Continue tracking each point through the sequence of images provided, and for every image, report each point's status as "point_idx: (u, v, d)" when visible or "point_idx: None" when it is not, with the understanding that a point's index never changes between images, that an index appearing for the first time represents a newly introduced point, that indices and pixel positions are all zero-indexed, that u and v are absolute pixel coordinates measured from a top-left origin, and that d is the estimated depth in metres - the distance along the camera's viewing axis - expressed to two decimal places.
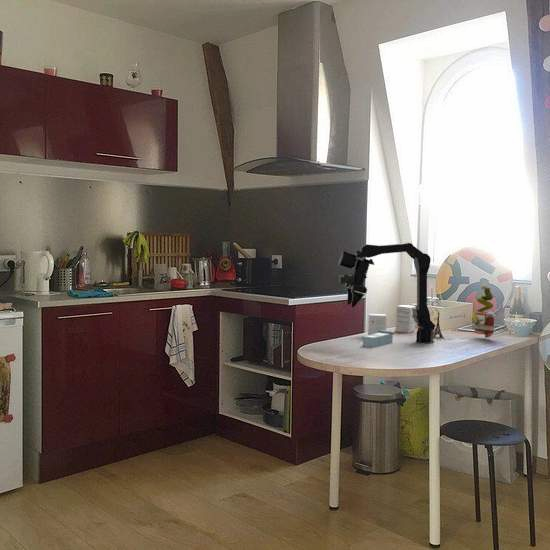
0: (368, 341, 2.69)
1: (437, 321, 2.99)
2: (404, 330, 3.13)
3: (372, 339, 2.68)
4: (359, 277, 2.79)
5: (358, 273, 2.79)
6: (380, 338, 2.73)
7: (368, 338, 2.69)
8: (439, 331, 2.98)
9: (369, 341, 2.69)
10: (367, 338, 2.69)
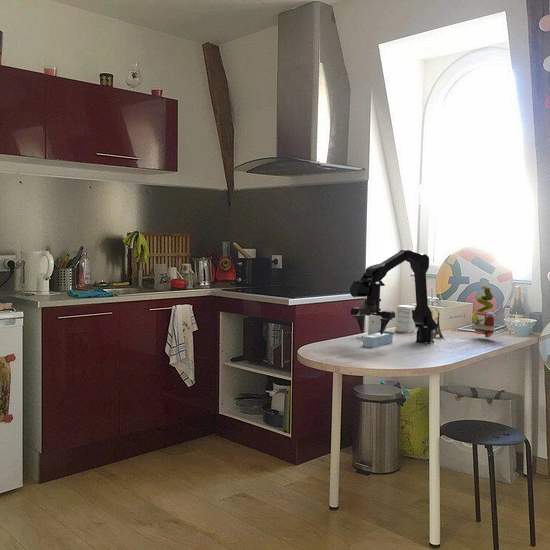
0: (368, 341, 2.69)
1: (437, 321, 2.99)
2: (404, 330, 3.13)
3: (372, 339, 2.68)
4: (378, 303, 2.68)
5: (377, 299, 2.67)
6: (380, 338, 2.73)
7: (368, 338, 2.69)
8: (439, 331, 2.98)
9: (369, 341, 2.69)
10: (367, 338, 2.69)
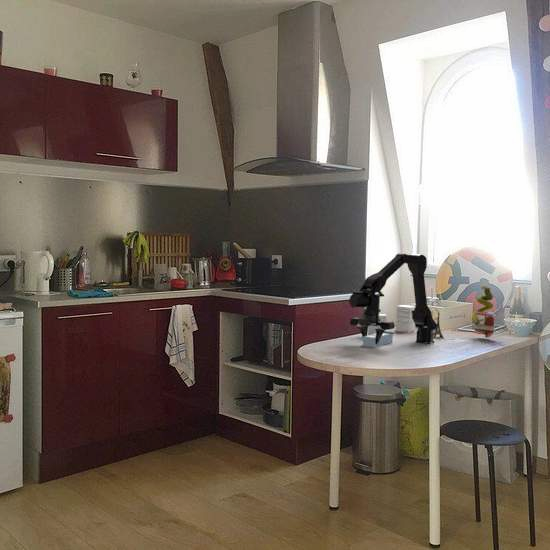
0: (368, 341, 2.69)
1: (437, 321, 2.99)
2: (404, 330, 3.13)
3: (372, 339, 2.68)
4: (377, 313, 2.68)
5: (376, 309, 2.68)
6: (380, 338, 2.73)
7: (368, 338, 2.69)
8: (439, 331, 2.98)
9: (369, 341, 2.69)
10: (367, 338, 2.69)
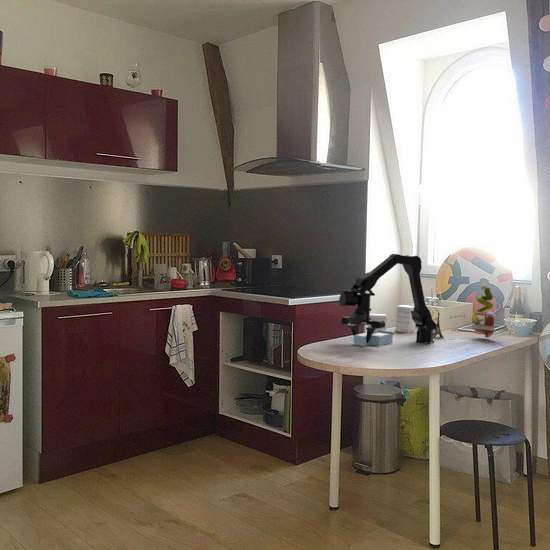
0: (359, 340, 2.71)
1: (437, 321, 2.99)
2: (404, 330, 3.13)
3: (363, 338, 2.70)
4: (368, 312, 2.71)
5: (367, 308, 2.70)
6: (380, 338, 2.73)
7: (359, 337, 2.71)
8: (439, 331, 2.98)
9: (360, 340, 2.71)
10: (358, 337, 2.72)
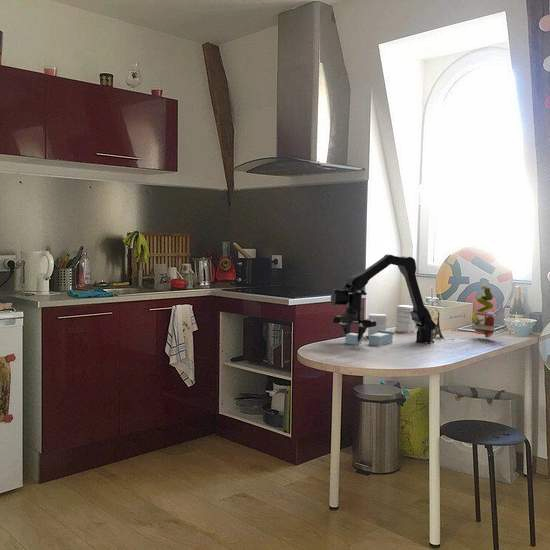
0: (350, 338, 2.74)
1: (437, 321, 2.99)
2: (404, 330, 3.13)
3: (354, 336, 2.73)
4: (359, 311, 2.73)
5: (358, 307, 2.73)
6: (380, 338, 2.73)
7: (350, 336, 2.74)
8: (439, 331, 2.98)
9: (351, 338, 2.74)
10: (349, 336, 2.74)
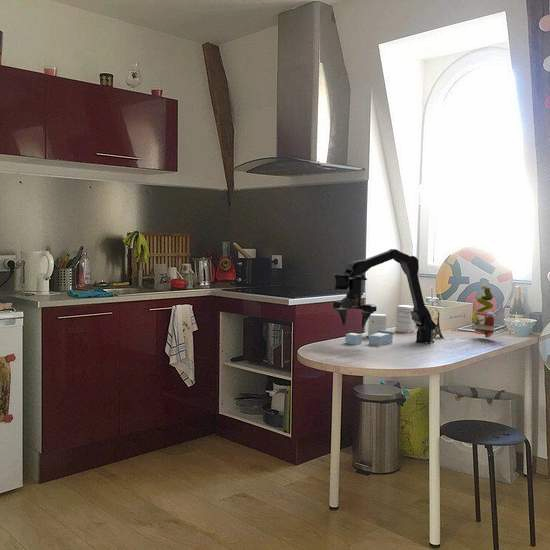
0: (350, 338, 2.74)
1: (437, 321, 2.98)
2: (404, 330, 3.13)
3: (354, 337, 2.73)
4: (360, 296, 2.73)
5: (358, 293, 2.72)
6: (380, 338, 2.73)
7: (350, 336, 2.74)
8: (439, 331, 2.98)
9: (351, 338, 2.74)
10: (349, 336, 2.74)
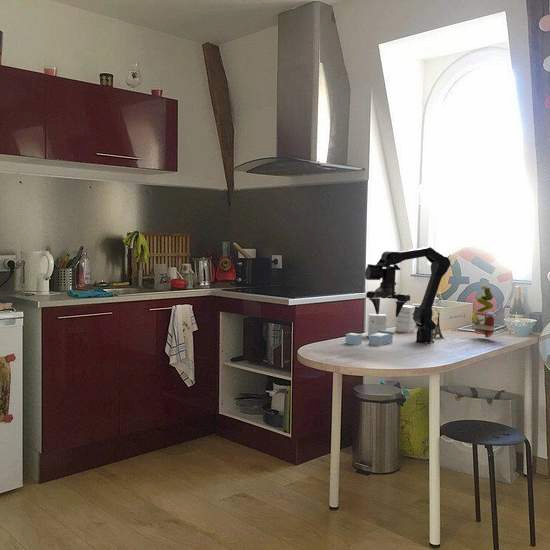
0: (350, 338, 2.74)
1: (437, 321, 2.98)
2: (404, 330, 3.13)
3: (354, 337, 2.73)
4: (393, 286, 2.77)
5: (392, 282, 2.76)
6: (380, 338, 2.73)
7: (350, 336, 2.74)
8: (439, 331, 2.98)
9: (351, 338, 2.74)
10: (349, 336, 2.74)
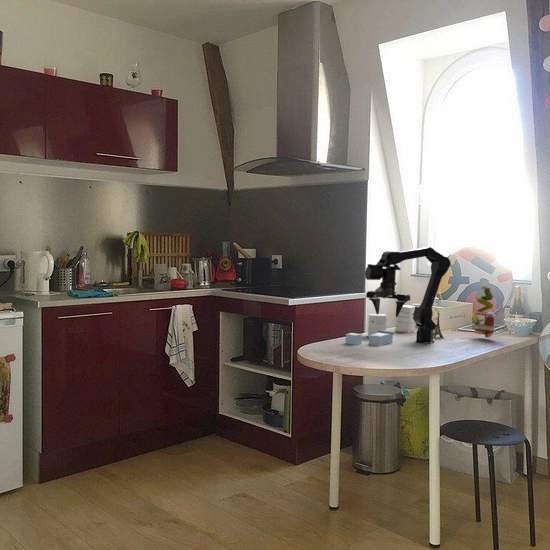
0: (350, 338, 2.74)
1: (437, 321, 2.98)
2: (404, 330, 3.13)
3: (354, 337, 2.73)
4: (393, 286, 2.77)
5: (392, 282, 2.76)
6: (380, 338, 2.73)
7: (350, 336, 2.74)
8: (439, 331, 2.98)
9: (351, 338, 2.74)
10: (349, 336, 2.74)
